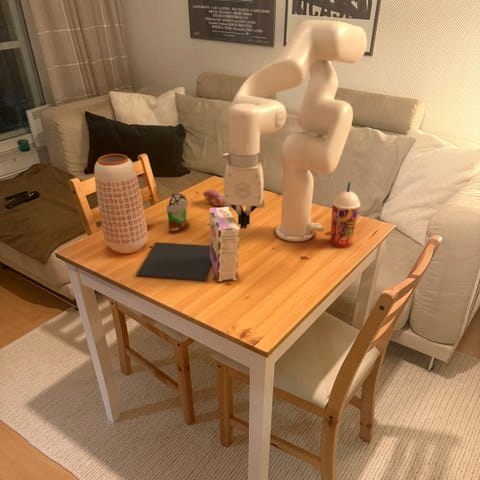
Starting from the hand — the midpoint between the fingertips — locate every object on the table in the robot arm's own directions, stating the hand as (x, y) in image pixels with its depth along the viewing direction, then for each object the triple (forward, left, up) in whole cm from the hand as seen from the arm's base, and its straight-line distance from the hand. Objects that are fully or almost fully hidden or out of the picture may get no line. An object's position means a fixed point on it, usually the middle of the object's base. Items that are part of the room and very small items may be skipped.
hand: (243, 226), depth 124 cm
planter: (+38, -9, -14) cm, 42 cm away
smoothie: (-29, -21, -14) cm, 38 cm away
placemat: (+20, -3, -14) cm, 25 cm away
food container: (+25, -26, -14) cm, 39 cm away
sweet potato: (+16, -46, -14) cm, 51 cm away
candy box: (+6, 0, -14) cm, 16 cm away
